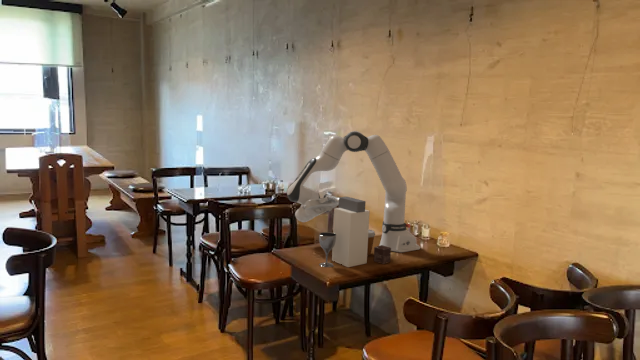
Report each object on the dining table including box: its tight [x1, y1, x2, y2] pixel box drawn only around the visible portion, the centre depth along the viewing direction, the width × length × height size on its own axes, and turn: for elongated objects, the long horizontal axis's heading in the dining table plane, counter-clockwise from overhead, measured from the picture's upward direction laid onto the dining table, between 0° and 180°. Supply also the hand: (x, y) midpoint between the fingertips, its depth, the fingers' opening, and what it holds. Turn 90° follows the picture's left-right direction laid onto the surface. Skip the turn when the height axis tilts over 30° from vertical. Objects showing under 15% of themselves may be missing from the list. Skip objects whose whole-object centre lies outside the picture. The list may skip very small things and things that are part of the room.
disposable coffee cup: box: [367, 229, 376, 256], centre depth 256 cm, size 10×10×12 cm
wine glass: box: [318, 231, 336, 268], centre depth 235 cm, size 8×8×15 cm
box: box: [373, 244, 392, 265], centre depth 244 cm, size 6×6×7 cm
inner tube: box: [323, 193, 340, 204], centre depth 245 cm, size 23×3×3 cm, turn 38°
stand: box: [331, 196, 370, 268], centre depth 240 cm, size 14×12×31 cm
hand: (331, 197), depth 250 cm, fingers closed on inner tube, 3 cm apart
